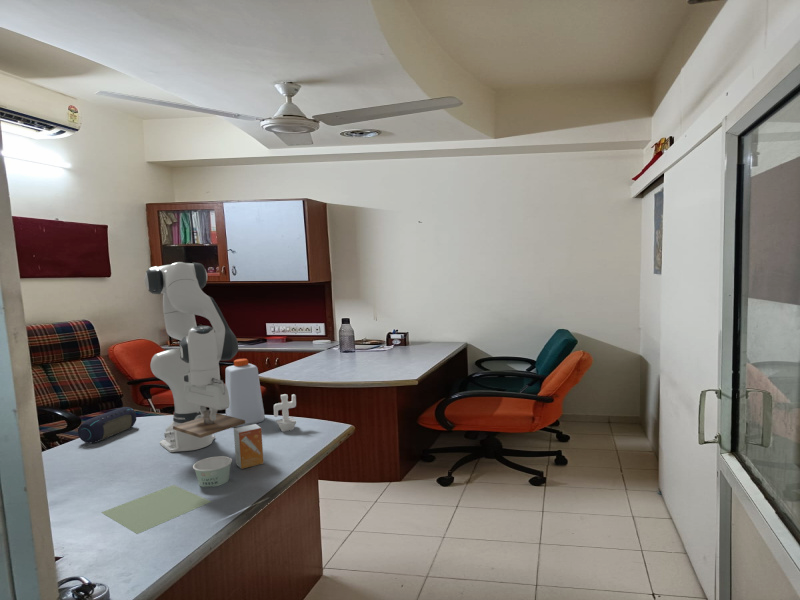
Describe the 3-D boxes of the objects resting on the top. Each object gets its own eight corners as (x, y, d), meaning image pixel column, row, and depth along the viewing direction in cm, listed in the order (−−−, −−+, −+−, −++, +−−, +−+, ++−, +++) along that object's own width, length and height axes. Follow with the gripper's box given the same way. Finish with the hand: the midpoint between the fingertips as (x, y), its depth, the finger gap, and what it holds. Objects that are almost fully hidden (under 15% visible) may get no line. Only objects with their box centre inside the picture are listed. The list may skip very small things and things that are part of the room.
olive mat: (101, 513, 155) (101, 512, 155) (173, 486, 172) (173, 484, 172) (137, 535, 141) (137, 533, 141) (211, 502, 158) (211, 501, 158)
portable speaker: (94, 446, 215) (92, 422, 215) (75, 445, 218) (73, 421, 218) (141, 426, 239) (139, 405, 238) (124, 425, 242) (122, 404, 241)
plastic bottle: (223, 421, 241) (218, 360, 239) (256, 414, 249) (252, 355, 247) (233, 429, 228) (228, 364, 226) (267, 421, 237) (263, 359, 234)
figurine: (273, 429, 225) (271, 394, 224) (295, 425, 229) (293, 391, 228) (277, 433, 219) (274, 398, 218) (299, 429, 223) (297, 394, 221)
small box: (241, 469, 182) (238, 432, 181) (235, 464, 188) (233, 428, 187) (264, 463, 187) (261, 427, 186) (258, 458, 192) (255, 423, 191)
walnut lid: (172, 429, 170) (171, 413, 170) (217, 415, 183) (216, 401, 182) (200, 437, 160) (198, 421, 160) (245, 423, 173) (244, 408, 172)
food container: (192, 493, 166) (190, 472, 165) (196, 478, 177) (194, 459, 177) (232, 486, 169) (231, 466, 168) (234, 472, 180) (232, 453, 180)
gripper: (232, 378, 166) (236, 421, 167) (197, 371, 179) (200, 412, 180) (214, 382, 161) (218, 427, 162) (179, 375, 174) (183, 417, 175)
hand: (208, 419), depth 171 cm, fingers closed on walnut lid, 3 cm apart
